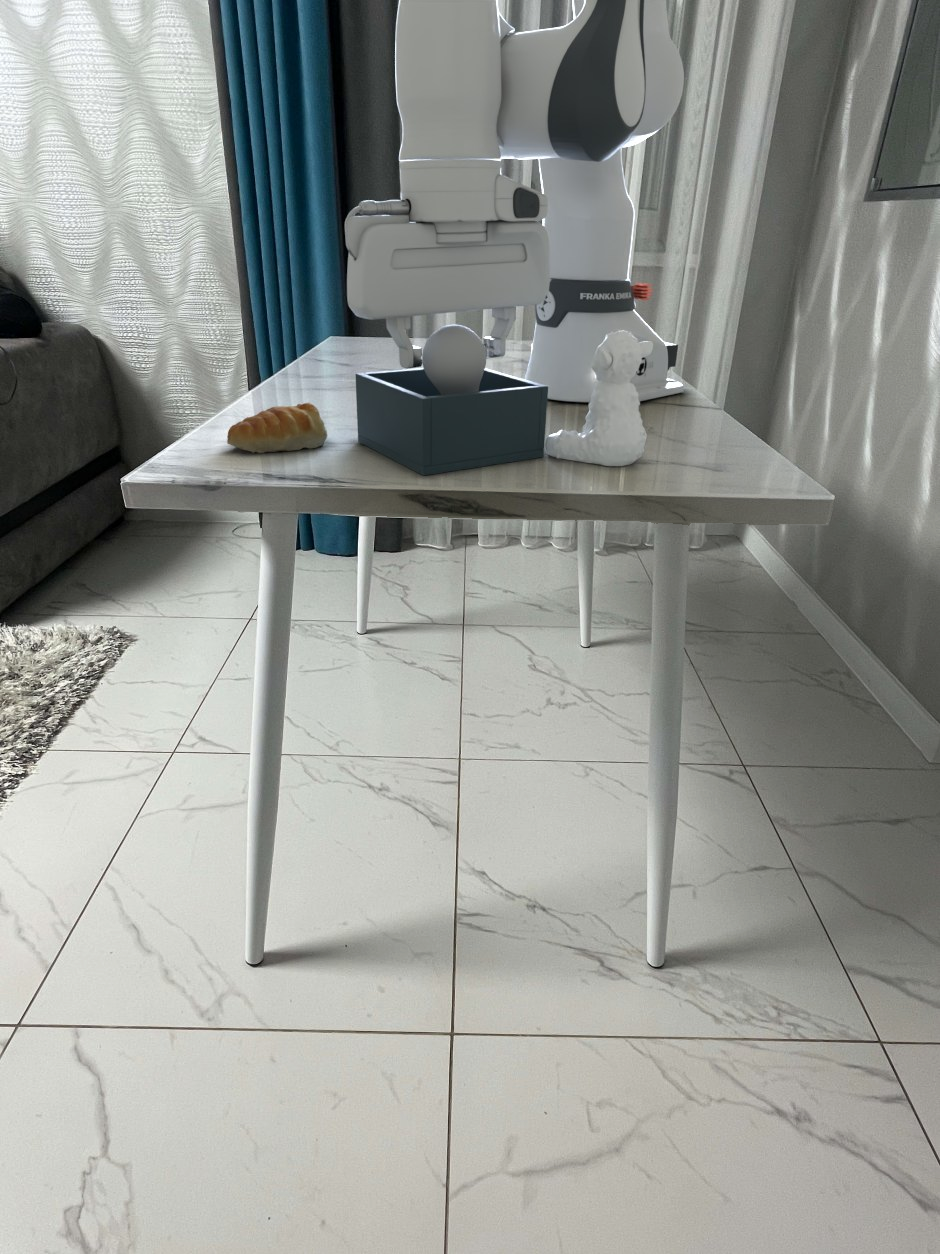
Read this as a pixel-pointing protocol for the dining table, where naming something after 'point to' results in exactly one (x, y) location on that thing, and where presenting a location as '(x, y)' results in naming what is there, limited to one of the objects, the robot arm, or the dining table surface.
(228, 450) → the dining table surface
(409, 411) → the bin
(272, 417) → the pastry
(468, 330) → the lightbulb
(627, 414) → the sitting furry creature
